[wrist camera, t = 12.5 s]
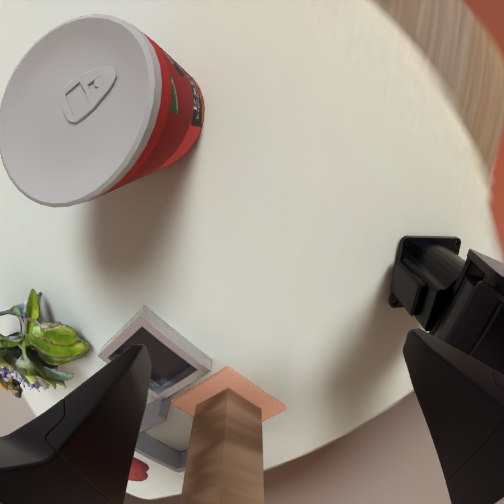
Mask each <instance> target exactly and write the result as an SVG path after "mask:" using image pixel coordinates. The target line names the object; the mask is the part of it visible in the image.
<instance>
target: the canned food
mask: <svg viewBox="0 0 504 504" xmlns="http://www.w3.org/2000/svg"><path fill="white" fill-rule="evenodd" d="M204 111H205V107H204V100H203V96H202V93H201V90H200V88H199V86H198V85H197V83H196V82H195V80H194V79H193V78H192V77H191V76H190V75H189V74H188V73H187V72H186V71H185V70H184V69H183V68H182V67H181V66H180V65H179V64H178V63H177V62H175V61H174V60H173V59H172V58H171V57H170V56H169V55H168V54H167V53H166V52H165V51H164V50H163V49H162V48H160V47H159V46H158V45H157V44H156V43H155V42H154V41H153V40H151V39H150V38H149V37H148V36H147V35H145V34H144V33H143V32H141V31H140V30H139V29H137V28H136V27H135V26H134V25H132V24H130V23H127V22H126V21H123V20H121V19H118V18H116V17H113V16H109V15H99V14H94V15H86V16H80V17H77V18H74V19H71V20H69V21H66V22H64V23H62V24H60V25H59V26H57V27H55V28H53V29H52V30H50V31H49V32H48V33H46V34H45V35H44V36H43V37H41V38H40V39H39V40H38V41H37V42H36V43H35V44H34V45H33V46H32V47H31V48H30V49H29V50H28V52H27V53H26V54H25V55H24V56H23V58H22V59H21V61H20V62H19V64H18V65H17V67H16V68H15V70H14V72H13V74H12V76H11V78H10V80H9V82H8V84H7V87H6V90H5V93H4V96H3V99H2V102H1V107H0V154H1V158H2V161H3V165H4V167H5V169H6V171H7V174H8V176H9V178H10V179H11V181H12V182H13V183H14V185H15V186H16V187H17V189H18V190H19V191H20V192H22V193H23V194H24V195H25V196H26V197H28V198H29V199H31V200H33V201H35V202H37V203H39V204H41V205H46V206H50V207H68V206H72V205H76V204H79V203H83V202H86V201H90V200H92V199H94V198H96V197H98V196H101V195H104V194H106V193H108V192H110V191H112V190H114V189H116V188H119V187H121V186H123V185H125V184H127V183H130V182H132V181H134V180H136V179H138V178H141V177H143V176H145V175H148V174H150V173H152V172H155V171H157V170H160V169H162V168H164V167H166V166H169V165H171V164H173V163H174V162H175V161H177V160H178V159H180V158H181V157H182V156H183V155H184V154H185V153H186V152H187V151H188V150H189V149H190V148H191V146H192V145H193V144H194V142H195V141H196V139H197V137H198V135H199V133H200V131H201V128H202V124H203V121H204Z"/></svg>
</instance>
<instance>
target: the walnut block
mask: <svg viewBox="0 0 504 504" xmlns="http://www.w3.org/2000/svg"><path fill="white" fill-rule="evenodd" d="M263 480H264V477H263V442H262V409H261V408H259V407H258V406H256V405H254V404H253V403H251V402H250V401H248V400H247V399H245V398H243V397H242V396H240V395H239V394H237V393H236V392H234V391H233V390H231V389H230V388H227V389H225V390H223V391H221V392H220V393H218V394H216V395H214V396H212V397H210V398H209V399H207V400H205V401H203V402H201V403H199V404H197V405H196V408H195V414H194V420H193V426H192V432H191V438H190V444H189V450H188V456H187V462H186V469H185V475H184V482H183V489H182V496H181V502H180V504H264V481H263Z"/></svg>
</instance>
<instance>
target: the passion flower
mask: <svg viewBox="0 0 504 504" xmlns="http://www.w3.org/2000/svg"><path fill="white" fill-rule="evenodd" d="M40 294H42V293H41V292H39V293H38V294H36V292H35V290H34V289H32V290H31V292H30V294H29V298H28V300H26V301H25V302H23V303H21V304H20V305H16V306H13V307H12V308H11V309H9V310H7V311H3V312H0V316H1V315H6V314H12V315H15V316H17V317H18V318H19V319H20V326H21V332H16V333H13V334H11V335H9V336H3V335H1V334H0V371H2V374H0V385H1V387H2V388H3V389H4V390H6V391H8V389H9V390H11V392H12V393H13V394H14V395H15V396H16V397H18V398H21V394H22V392H23V390H22V388H21V387H20V384H21V382H22V383H23V385H24V382H25V383H26V384H27V385H28V386H29V387H31V388H34V387H35V388H36V389H37V390H38V391H39V389H38V388H39V386H41V387H42V388H43V389H44V390H46V389H47V388H49V387H48V385H50V386H52V387H53V388H54V389H56V383H57V384H60V385H61V386H62V387H64V388H66V385H65V383H64V381H63V380H68V379H71V378H72V377H73V376H74V374H73V373H72V374H69V373H63V372H62V371H61V372H60V371H56V370H57V368H58V365H59V364H64V363H68V362H70V361H72V360H74V359H76V358H78V359H79V358H82V357H84V356H85V355H86V352H87V350H88V349H89V344H88V342H86V341H85V340H83V339H81V338H80V337H79V336H78V333H77V332H76V331H75V329H73V328H71V327H69V326H67V325H64V324H61V322H57V323H50V322H46V323H42V322H40V323H38V321H37V319H38V317H39V304H38V298H37V297H38V296H39V295H40ZM23 318H24V319H25V323H24V320H23ZM9 373H10V377H7V376H6V375H7V374H9ZM13 377H14V378H15V379H16V380H15V379H13ZM15 387H16V388H17V389H16V388H15ZM24 388H25V385H24ZM45 388H46V389H45ZM30 390H31V389H30ZM21 391H22V392H21ZM39 392H40V391H39Z"/></svg>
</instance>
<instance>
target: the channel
mask: <svg viewBox="0 0 504 504" xmlns="http://www.w3.org/2000/svg"><path fill="white" fill-rule="evenodd" d="M170 401H171V400H170V399H169V398H165V399H163V400H162V401H158V400H155V401H153V402H151V403H150V404H148V405H146V407H145V412H144V415H143V419H142V423H141V427H140V431H139V435H138V439H137V443H136V447H135V451H136V452H138V453H140V454H142V455H144V456H145V457H147V458H149V459H151V460H153V461H155V462H157V463H159V464H161V465H163V466H166V467H168V468H170V469H172V470H174V471H176V472H183V471H185V469H186V462H187V456H188V450H186V451H183V452H178V451H176V450H174V449H172V448H171V447H169V446H167V445H165V444H163V443H161V442H159V441H158V440H156V439H154V438H152V437H150V436H149V435H147V434H145V433H143V432H142V431H144V430H146V429H149V428H151V427H153V426H155V425H157V424H159V423H161V422H163V421H165V420H166V417H167V413H168V409H169V405H170Z"/></svg>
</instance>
